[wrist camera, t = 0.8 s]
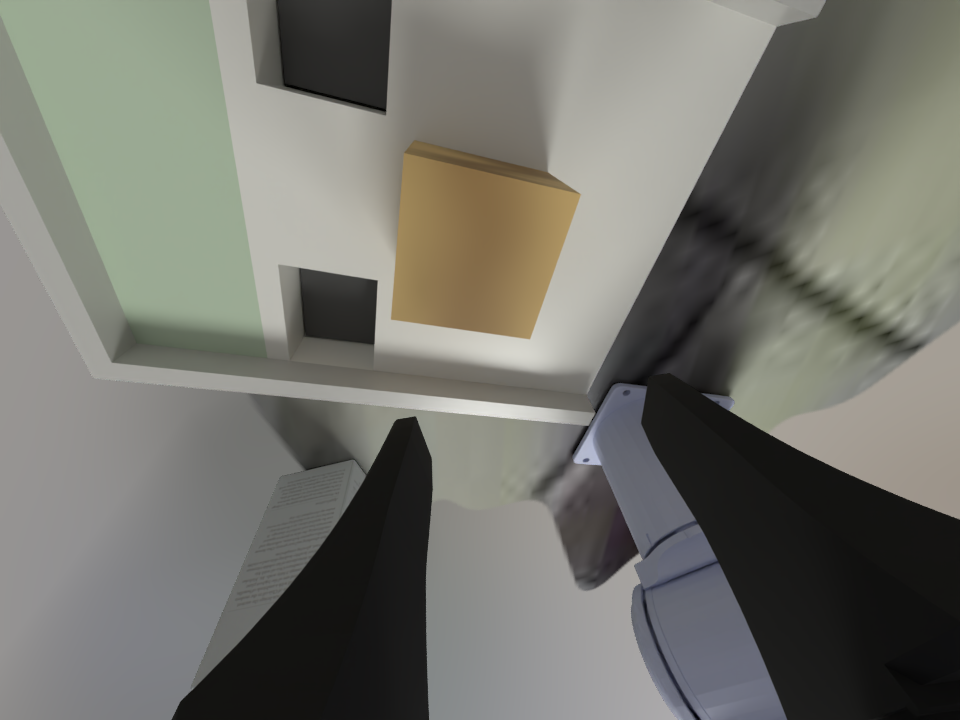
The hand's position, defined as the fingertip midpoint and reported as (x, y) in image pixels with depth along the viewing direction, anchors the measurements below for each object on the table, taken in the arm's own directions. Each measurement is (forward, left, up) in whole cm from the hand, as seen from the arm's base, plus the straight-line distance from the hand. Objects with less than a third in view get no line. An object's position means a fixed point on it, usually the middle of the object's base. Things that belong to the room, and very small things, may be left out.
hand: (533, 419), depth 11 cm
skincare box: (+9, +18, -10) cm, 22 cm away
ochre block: (+2, -4, -7) cm, 8 cm away
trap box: (+5, -4, -10) cm, 11 cm away
